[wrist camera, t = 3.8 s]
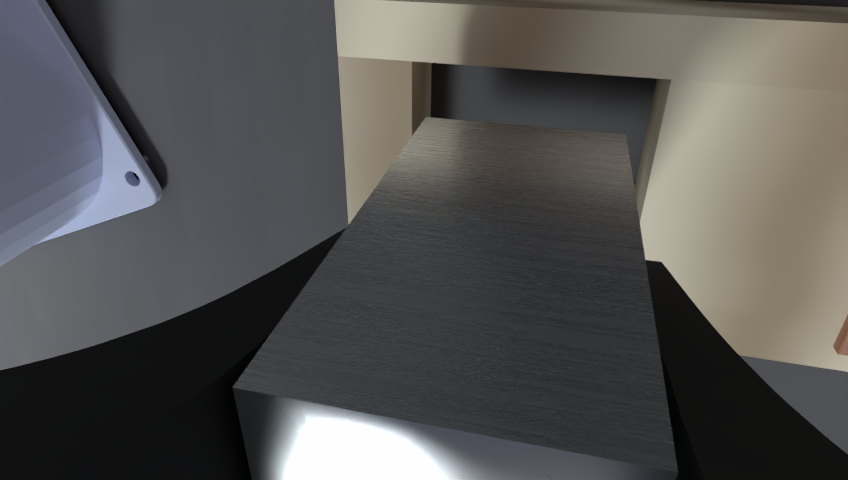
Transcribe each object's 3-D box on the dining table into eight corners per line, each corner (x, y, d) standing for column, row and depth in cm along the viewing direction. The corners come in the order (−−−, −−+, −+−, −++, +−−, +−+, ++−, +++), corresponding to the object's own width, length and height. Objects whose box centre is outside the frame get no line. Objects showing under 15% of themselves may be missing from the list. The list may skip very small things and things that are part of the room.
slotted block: (374, 259, 19) (349, 301, 17) (363, -15, 15) (329, 0, 13) (1143, 367, 15) (1226, 438, 13) (1420, 32, 11) (1603, 64, 9)
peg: (424, 276, 14) (280, 615, 8) (425, 117, 12) (231, 387, 6) (594, 301, 14) (600, 700, 7) (626, 134, 12) (677, 471, 5)
